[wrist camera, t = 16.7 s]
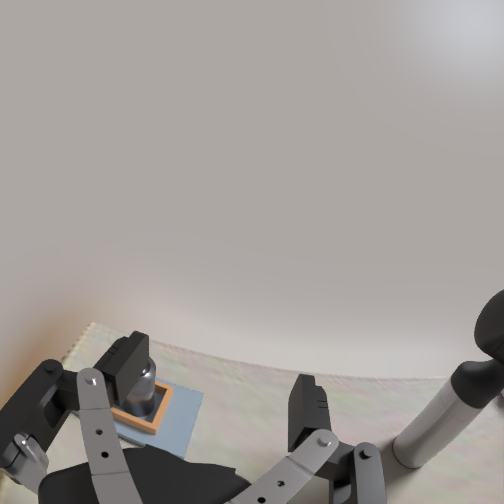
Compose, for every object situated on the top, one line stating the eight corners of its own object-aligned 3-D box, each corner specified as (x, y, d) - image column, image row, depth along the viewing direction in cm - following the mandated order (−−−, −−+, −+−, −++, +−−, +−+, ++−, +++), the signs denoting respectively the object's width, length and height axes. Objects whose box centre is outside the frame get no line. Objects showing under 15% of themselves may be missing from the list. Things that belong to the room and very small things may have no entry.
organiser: (202, 397, 40) (205, 386, 39) (183, 460, 28) (184, 452, 27) (106, 361, 40) (105, 349, 39) (71, 411, 28) (66, 400, 27)
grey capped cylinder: (148, 388, 37) (150, 349, 34) (158, 414, 33) (160, 377, 30) (117, 392, 34) (113, 352, 31) (125, 419, 30) (121, 382, 27)
